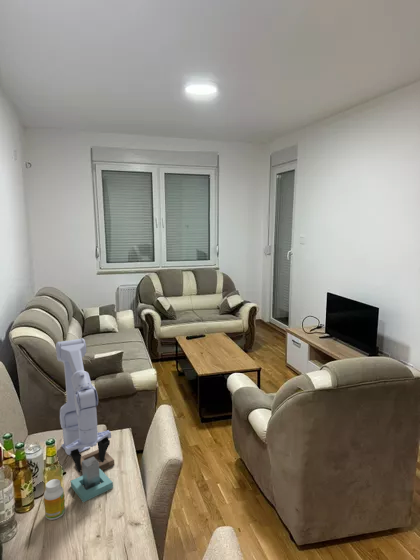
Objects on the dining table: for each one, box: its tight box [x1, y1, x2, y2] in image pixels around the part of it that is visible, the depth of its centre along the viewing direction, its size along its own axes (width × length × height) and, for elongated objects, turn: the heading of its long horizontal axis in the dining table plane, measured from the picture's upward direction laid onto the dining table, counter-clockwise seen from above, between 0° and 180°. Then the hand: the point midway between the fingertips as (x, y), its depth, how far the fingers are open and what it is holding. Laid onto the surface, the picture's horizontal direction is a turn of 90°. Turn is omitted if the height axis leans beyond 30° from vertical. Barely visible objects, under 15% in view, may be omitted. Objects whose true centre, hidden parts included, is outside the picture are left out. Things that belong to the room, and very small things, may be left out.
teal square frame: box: [70, 468, 114, 503], centre depth 123 cm, size 10×10×2 cm
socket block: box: [81, 449, 115, 471], centre depth 135 cm, size 10×10×2 cm
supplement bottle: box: [43, 478, 66, 521], centre depth 111 cm, size 5×5×10 cm
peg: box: [81, 456, 101, 490], centre depth 123 cm, size 4×4×9 cm
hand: (90, 465), depth 122 cm, fingers open, 7 cm apart
